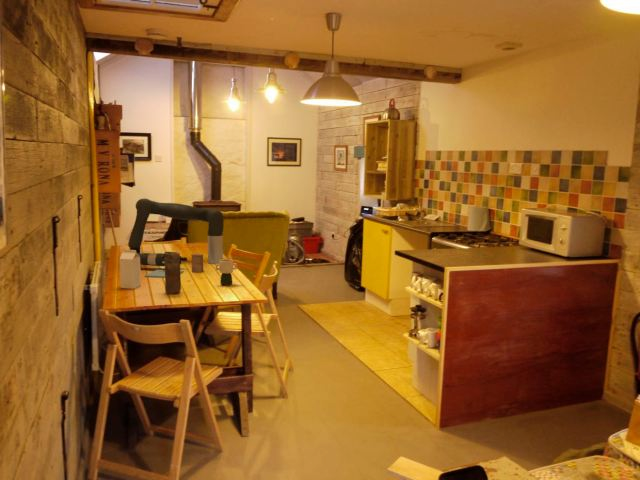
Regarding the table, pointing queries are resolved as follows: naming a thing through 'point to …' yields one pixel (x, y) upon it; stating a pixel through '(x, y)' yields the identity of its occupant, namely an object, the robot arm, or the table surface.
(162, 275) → the slate-blue mat
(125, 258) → the milk carton
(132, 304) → the table surface
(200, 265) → the walnut block
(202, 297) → the table surface
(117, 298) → the table surface
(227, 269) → the character mug
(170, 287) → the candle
